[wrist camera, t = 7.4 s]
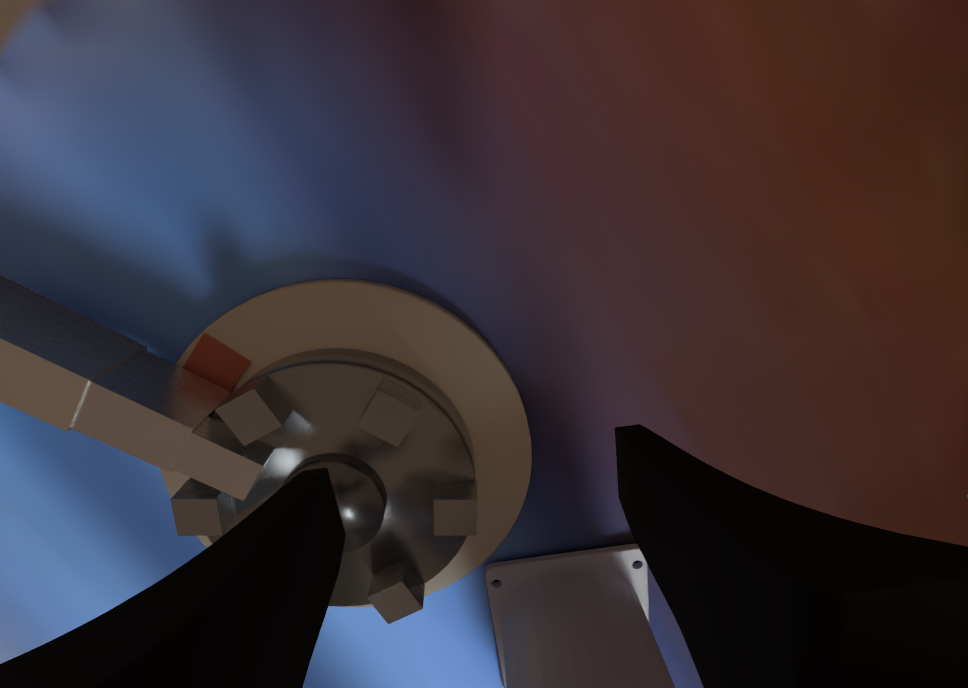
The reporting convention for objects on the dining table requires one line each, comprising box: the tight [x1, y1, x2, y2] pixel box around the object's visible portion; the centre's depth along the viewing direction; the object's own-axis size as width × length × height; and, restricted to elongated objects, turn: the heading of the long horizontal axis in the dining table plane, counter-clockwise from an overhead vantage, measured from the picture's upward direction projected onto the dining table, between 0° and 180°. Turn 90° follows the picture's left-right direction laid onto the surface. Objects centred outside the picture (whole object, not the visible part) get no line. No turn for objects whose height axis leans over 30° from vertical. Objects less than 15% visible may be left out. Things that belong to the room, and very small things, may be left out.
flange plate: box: [160, 278, 532, 607], centre depth 22 cm, size 16×16×1 cm
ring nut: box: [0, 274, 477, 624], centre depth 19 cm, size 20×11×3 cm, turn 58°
